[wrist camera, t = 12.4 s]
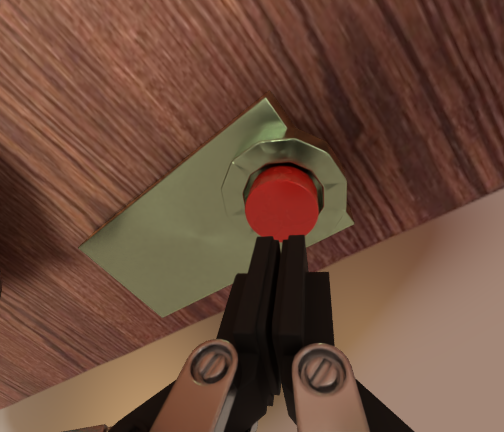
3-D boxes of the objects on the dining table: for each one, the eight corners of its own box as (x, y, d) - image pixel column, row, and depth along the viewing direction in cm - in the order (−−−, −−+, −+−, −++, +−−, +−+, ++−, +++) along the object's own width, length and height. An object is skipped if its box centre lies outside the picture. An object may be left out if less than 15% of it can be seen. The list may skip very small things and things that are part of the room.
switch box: (288, 74, 16) (284, 85, 12) (367, 196, 19) (381, 232, 16) (94, 231, 24) (60, 263, 21) (171, 298, 27) (153, 336, 24)
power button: (291, 151, 14) (290, 165, 13) (330, 204, 16) (333, 222, 14) (236, 188, 16) (230, 204, 14) (275, 234, 17) (272, 253, 16)
